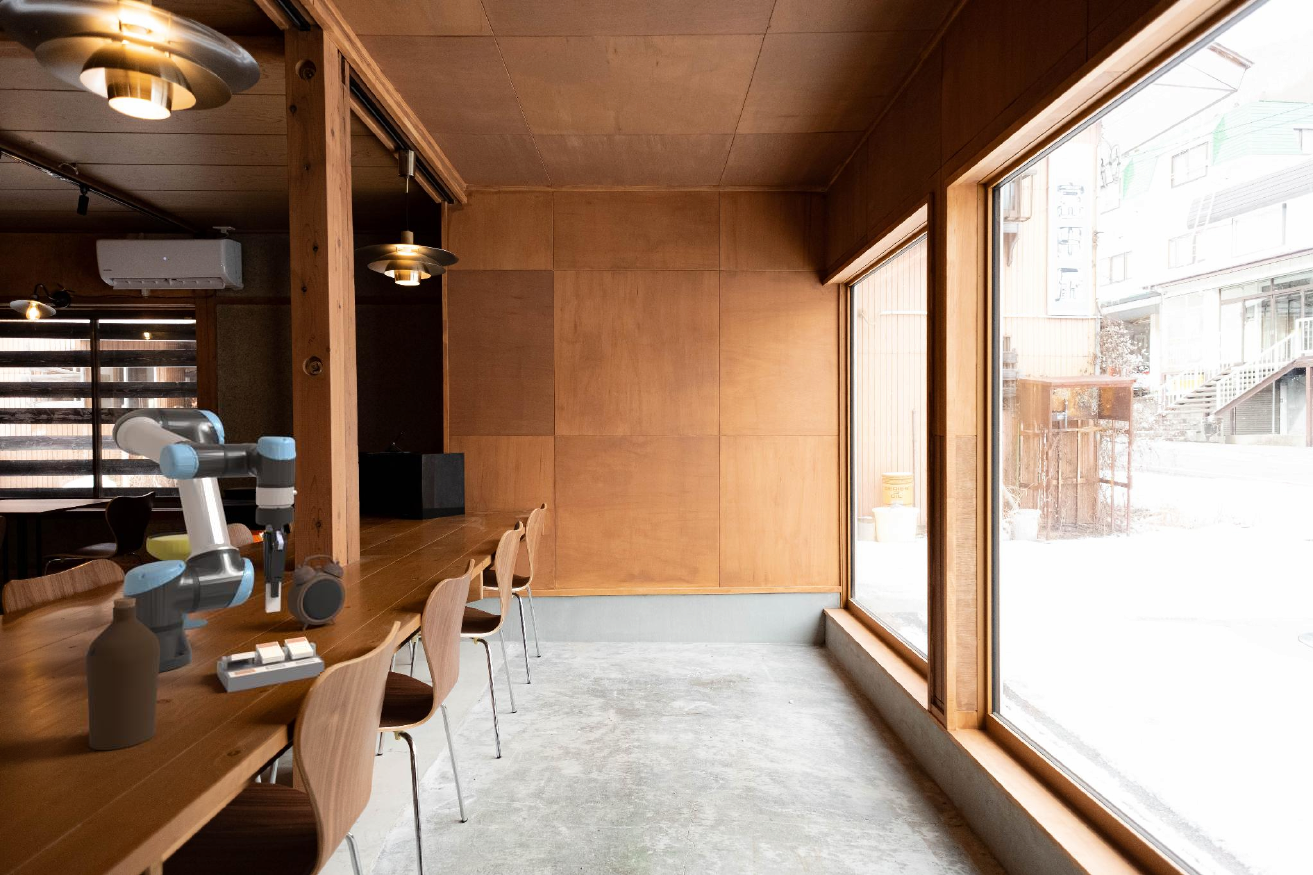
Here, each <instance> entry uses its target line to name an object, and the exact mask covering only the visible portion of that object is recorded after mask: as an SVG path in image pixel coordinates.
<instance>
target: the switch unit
mask: <svg viewBox="0 0 1313 875" xmlns="http://www.w3.org/2000/svg"><path fill="white" fill-rule="evenodd" d="M309 644H310V646H311V648H312V649H313V656H310V657H304V658H298V659H292V658H291V656H290V654H289V652H288V649H287V648H286V646H282V647H281V649H282V651H283V653H284V654H285V660H282V661H276V662H270V663H264V664H263V663H262V661H261V659H260V657H259V655H258V653H257V651H256V650H255V651H254V652H255V657H253V658H250V659H247V660H240V661H234V662H228V663H227V658H226V657H227V656H225V655H223V656H221V660H217V661H216V675H217V677H218V679H219V681H220V682H221V683H222V686H223V687H224V689H225V691H226V692H227V693H233V692H238V691H244V690H245V691H246V690H249V689H255V688H259V687H265V686H266V687H267V686H272V685H276V684H281V683H287V682H292V681H298V680H304V679H308V678H310V679H311V678H314V677H319V676H318V674H320V672H322V671H324V672H325V661H324V660H323V658H321V657H320V656H319V655H318V654H317V653H316V649H317V648H316V643H314V642H309Z"/></svg>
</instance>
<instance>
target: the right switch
mask: <svg viewBox="0 0 1313 875" xmlns="http://www.w3.org/2000/svg"><path fill="white" fill-rule="evenodd" d="M284 647H286V648H287V649H288V652H289V654H290V656H291V658H292V659H298V658H304V657H310V656H313V649H312V648H311V646H310V642H309V640H308V639H307V638H306V636H302V637H296V638H288V639H284Z"/></svg>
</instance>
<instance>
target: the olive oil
mask: <svg viewBox="0 0 1313 875" xmlns="http://www.w3.org/2000/svg"><path fill="white" fill-rule="evenodd" d="M135 602H136V598H134V597H124V596H123V597H118V598H115V599H113V605H114V606H113V608H112V621H111V622H110V624H109V625H108V626H107V627H105V629H104V630H102V631H101V632H100V634H98V635H97V637H95V639H94V640H93V641H92V642H91V644H90V645H89V648H88V650H87V653H86V656H85V658H86V659H85V666H86V682H87V683H86V684H87V705H88V734H89V737H88V739H89V740H88V743H89V747H90V748H91V749H94V750H98V751H112V750H114V751H115V750H120V749H126V748H130V747H133V746H137V745H140V744H142V743H145V742H146V741H148V740H150V739H152V737H154V735H155V734H156V732H155V731H156V719H157V718H156V716H157V700H158V699H157V697H158V696H157V695H158V685H159V684H158V683H159V673H160V672H159V660H160V645H159V641H158V639H157V637H156V635H155V634H154V633H153V632H152V631H151V630H149V629H148V628H147V627H146V626H144V625H143V624H142V623H140V622H139V621H138V620H137V619H136V605H135Z"/></svg>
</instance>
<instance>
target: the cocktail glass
mask: <svg viewBox="0 0 1313 875" xmlns="http://www.w3.org/2000/svg"><path fill="white" fill-rule="evenodd" d="M145 546H146V551H147V552H148V554H150V555H151V556H152V557H154V558H156V559H159V560H161V561H169V560H181V561H183V562H184V564H185V565H186V559H187V558H188V557H189V556H190V555H191V549H190V544H189V539H188V533H187V531H179V532H166V533H159V534H154V535H150V536H148V537H147V538H146V545H145ZM207 624H208V621H207V619H199V618H198V619H197V618H193V619H190V618H189V614H186V615H184V630H186V629H188V630H193V628H194V629H197V628H202V627H204V626H206V625H207ZM201 626H202V627H201ZM186 631H187V630H186Z"/></svg>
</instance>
